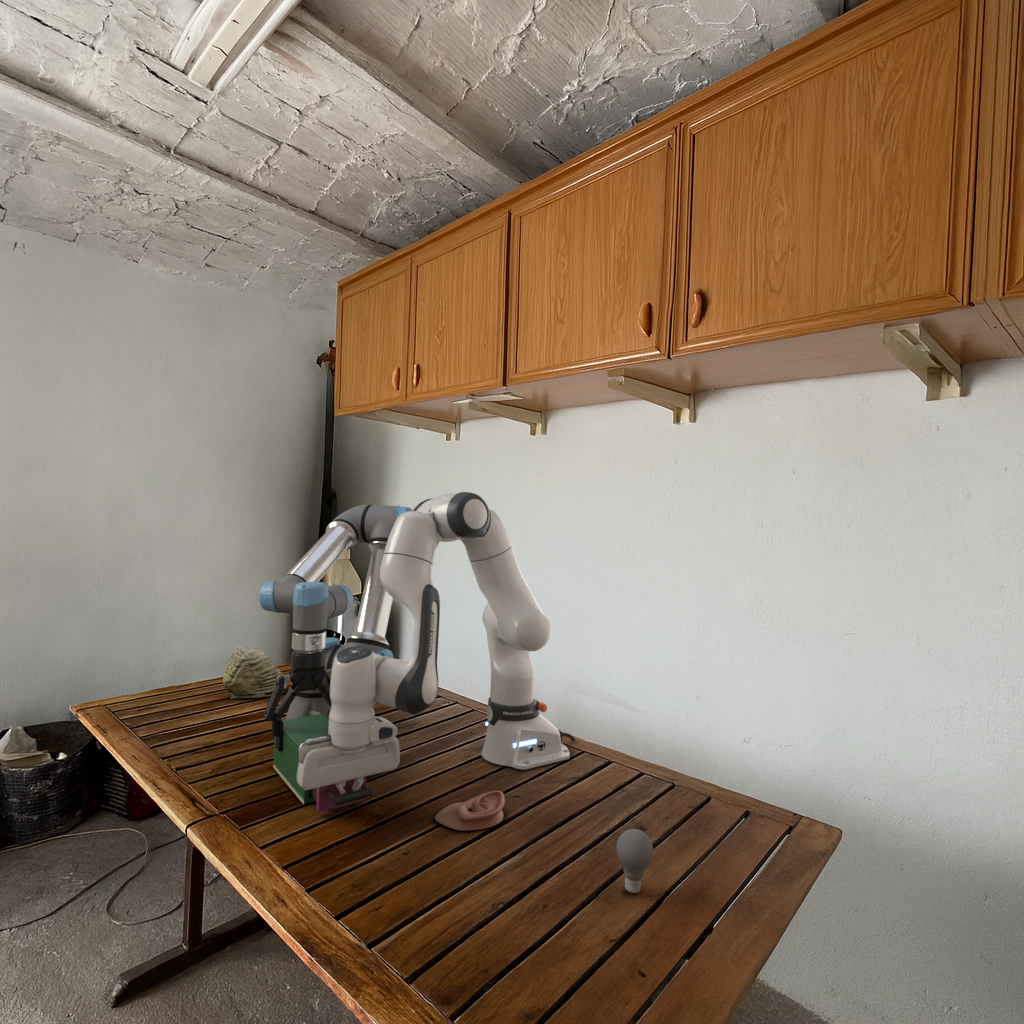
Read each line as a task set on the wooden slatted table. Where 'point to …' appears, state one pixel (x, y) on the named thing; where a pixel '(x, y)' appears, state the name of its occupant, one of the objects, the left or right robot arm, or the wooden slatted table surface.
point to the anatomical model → (474, 812)
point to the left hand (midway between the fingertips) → (305, 744)
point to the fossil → (250, 674)
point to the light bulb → (634, 857)
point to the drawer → (339, 795)
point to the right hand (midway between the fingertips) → (348, 799)
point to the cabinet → (293, 737)
